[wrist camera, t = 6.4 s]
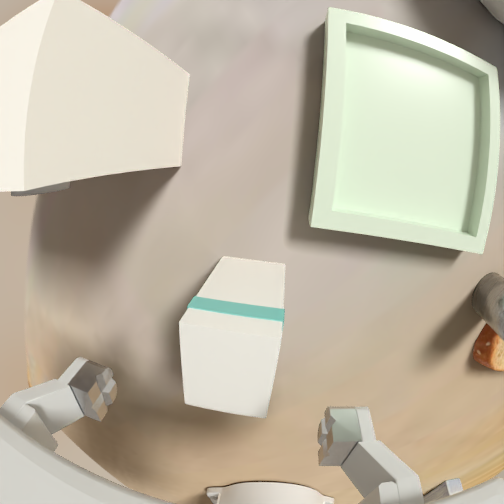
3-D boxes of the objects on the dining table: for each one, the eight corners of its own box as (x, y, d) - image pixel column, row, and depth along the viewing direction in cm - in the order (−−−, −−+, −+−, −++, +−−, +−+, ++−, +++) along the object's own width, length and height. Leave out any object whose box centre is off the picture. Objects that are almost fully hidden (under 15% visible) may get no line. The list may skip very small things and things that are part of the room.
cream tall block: (180, 175, 17) (25, 213, 6) (83, 174, 18) (-58, 207, 6) (190, 68, 15) (63, -22, 3) (91, 82, 15) (-44, 58, 4)
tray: (467, 245, 16) (482, 254, 14) (308, 219, 17) (310, 226, 15) (481, 73, 12) (496, 67, 10) (324, 21, 13) (328, 6, 11)
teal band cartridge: (276, 330, 19) (266, 419, 12) (219, 322, 20) (184, 404, 12) (286, 263, 18) (283, 337, 10) (222, 255, 18) (177, 320, 11)
